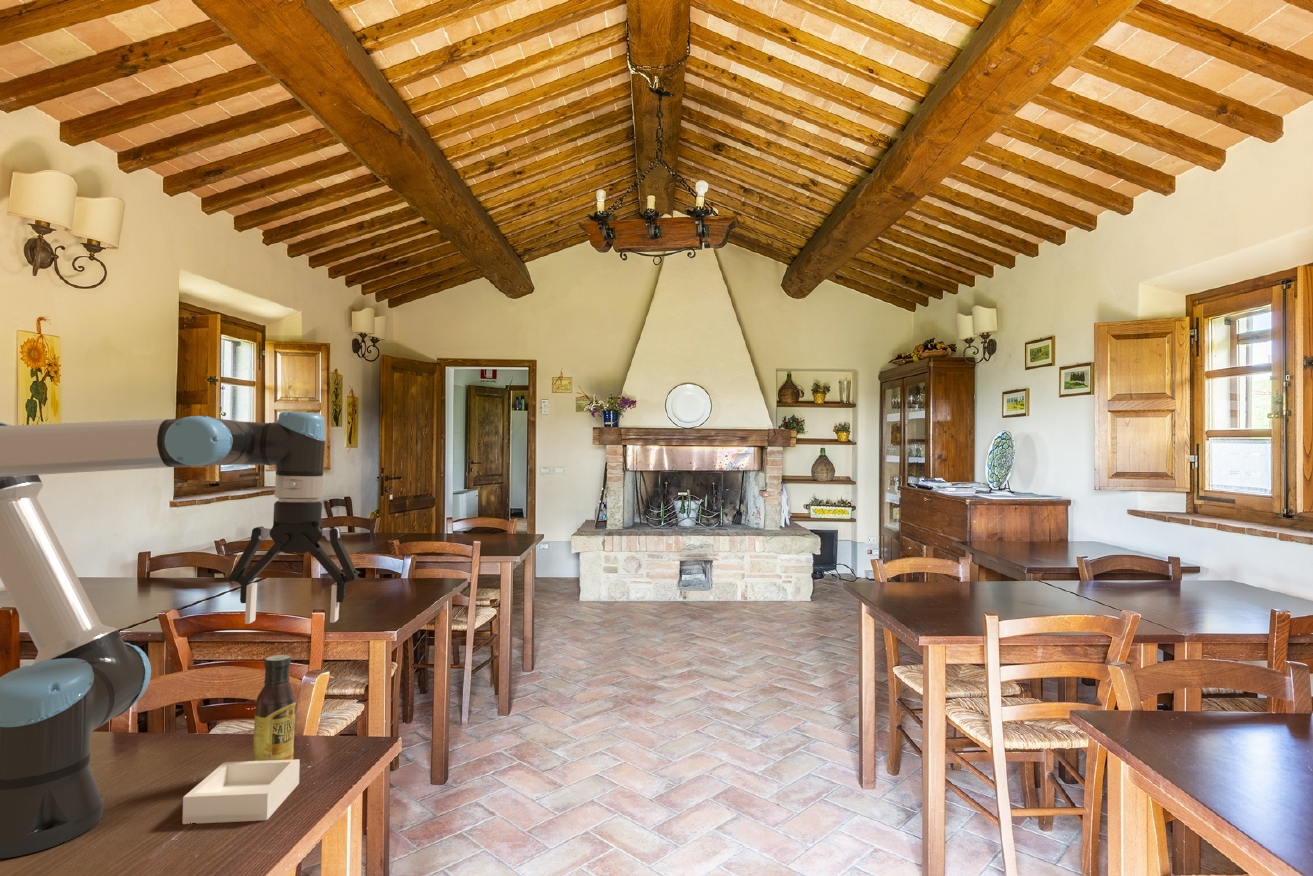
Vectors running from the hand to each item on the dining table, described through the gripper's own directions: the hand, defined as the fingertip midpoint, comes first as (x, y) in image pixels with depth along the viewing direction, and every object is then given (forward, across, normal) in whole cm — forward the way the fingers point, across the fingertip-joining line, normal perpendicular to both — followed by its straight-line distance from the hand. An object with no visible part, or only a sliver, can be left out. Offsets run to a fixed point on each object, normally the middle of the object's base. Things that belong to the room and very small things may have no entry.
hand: (292, 621), depth 121 cm
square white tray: (+26, -3, -10) cm, 28 cm away
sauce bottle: (+26, -2, +1) cm, 27 cm away
